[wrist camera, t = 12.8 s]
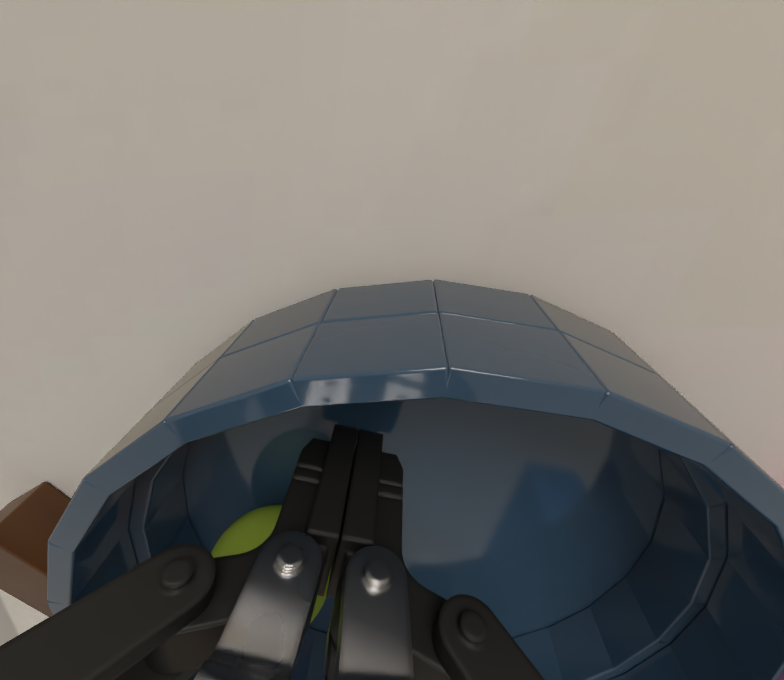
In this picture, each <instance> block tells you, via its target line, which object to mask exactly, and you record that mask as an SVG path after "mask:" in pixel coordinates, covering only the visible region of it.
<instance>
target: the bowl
mask: <svg viewBox="0 0 784 680" xmlns="http://www.w3.org/2000/svg"><path fill="white" fill-rule="evenodd" d="M335 424H336V425H341V426H346V427H351V428H355V429H358V433H357V438H358V434H359V431H360V429H361V430H366V431H370V432H375V433H380V434H383V444H382V452H385V453H390V454H395V455H397V457H398V459H399V461H400V463H401V466H402V468H403V499H402V501H403V514H402V555H403V560H404V563H405V565H406V567H407V569H408V571H409V573H410V574H411V575H412V577H413V578H414V579H415V580H416V581H417V582H418V583H420V584H421V585H422V586H424V587H425V588H427V589H429V590H430V591H432V592H434V593H436V594H437V595H439V596H441V597H443V598H445V599H446V600H448V599H449V598H450V597H452V596H454V595H458V594H466V595H470V596H473V597H475V598H477V599H479V600H481V601H482V602H483V603H485V604H486V605H487V606H488V607H489V608H490V609H491V611H492V612H493V613H494V614H495V616H496V617H497V618H498V620H499V621H500V622H501V623H502V625H503V626H504V627H505V629H506V630H507V631H508V633H509V634H510V635H511V636H512V638H513V639H514V640H515V642H516V643H517V644H518V646H519V647H520V648H521V649H522V651H523V652H524V653H525V655H526V656H527V657H528V659H529V660H530V661H531V662H532V664H533V665H534V666H535V668H536V669H537V670H538V672H539V673H540V674H541V675H542V677H543V678H544V679H545V680H784V489H783V488H782V487H781V486H780V485H779V484H778V483H777V482H776V481H775V480H774V479H772V478H771V477H770V476H769V475H768V474H767V473H766V472H765V471H764V470H763V469H762V468H760V467H759V466H758V465H757V464H756V463H755V462H754V461H753V460H752V459H751V458H750V457H748V456H747V455H746V454H745V453H744V452H743V451H742V450H741V449H740V448H739V447H738V446H737V445H735V444H734V443H733V442H732V441H731V440H730V439H729V438H728V437H727V436H726V435H725V434H723V433H722V432H721V431H720V430H719V429H718V428H717V427H716V426H715V425H714V424H713V423H712V422H710V421H709V420H708V419H707V418H706V417H705V416H704V415H703V414H702V413H701V412H700V411H698V410H697V409H696V408H695V407H694V406H693V405H692V404H691V403H690V402H689V401H688V400H686V399H685V398H684V397H683V396H682V395H681V394H680V393H679V392H678V391H677V390H676V389H675V388H673V387H672V386H671V385H670V384H669V383H668V382H667V381H666V380H665V379H664V378H662V377H661V376H660V375H659V374H658V373H657V372H656V371H655V370H654V369H653V368H651V367H650V366H649V365H648V364H647V363H646V362H645V361H644V360H643V359H642V358H640V357H639V356H638V355H637V354H636V353H635V352H634V351H633V350H632V349H631V348H629V347H628V346H627V345H626V344H625V343H624V342H623V341H622V340H621V339H619V338H618V337H617V336H616V335H615V334H614V333H612V332H611V331H610V330H608V329H605V328H603V327H601V326H599V325H596V324H594V323H592V322H590V321H588V320H585V319H583V318H581V317H579V316H577V315H574V314H572V313H570V312H568V311H566V310H563V309H561V308H559V307H557V306H555V305H552V304H550V303H548V302H546V301H543V300H541V299H539V298H537V297H535V296H532V295H530V296H529V295H528V294H524V293H517V292H511V291H505V290H498V289H492V288H486V287H479V286H473V285H467V284H460V283H454V282H448V281H441V280H434V281H432V280H424V281H414V282H403V283H393V284H382V285H372V286H361V287H351V288H340V289H338V290H337V289H334V290H331V291H329V292H326V293H323V294H320V295H318V296H315V297H312V298H310V299H307V300H304V301H302V302H299V303H296V304H294V305H291V306H288V307H286V308H283V309H280V310H277V311H275V312H272V313H269V314H267V315H264V316H261V317H259V318H256V319H255V320H252V321H251V322H250V323H248V324H247V325H246V326H244V327H243V328H242V329H240V330H239V331H238V332H237V333H235V334H234V335H233V336H231V337H230V338H229V339H227V340H226V341H225V342H223V343H222V344H221V345H220V346H218V347H217V348H216V349H214V350H213V351H212V352H210V353H209V354H208V355H206V356H205V357H204V358H202V359H201V360H200V361H199V362H197V363H196V364H195V365H194V366H193V367H192V368H191V369H190V370H189V371H188V372H187V373H186V374H185V375H184V376H183V377H182V378H181V379H180V380H179V381H178V382H177V383H176V384H175V385H174V386H173V387H172V388H171V389H170V390H169V391H168V392H167V393H166V394H165V395H164V397H163V398H162V399H161V400H160V401H159V402H158V403H157V404H156V405H155V406H154V407H153V408H152V409H151V410H150V411H149V412H148V413H147V414H146V415H145V416H144V417H143V418H142V419H141V420H140V421H139V422H138V423H137V424H136V425H135V426H134V427H133V428H132V429H131V430H130V431H129V432H128V433H127V434H126V435H125V436H124V437H123V438H122V439H121V440H120V441H119V442H118V443H117V444H116V445H115V446H114V447H113V448H112V449H111V450H110V451H109V452H108V453H107V454H106V455H105V457H104V458H103V459H102V460H101V461H100V462H99V463H98V464H97V465H96V466H95V467H94V468H93V469H92V470H91V471H90V472H89V473H88V474H87V475H86V476H85V477H84V478H83V479H82V481H81V483H80V485H79V486H78V488H77V490H76V492H75V493H74V495H73V497H72V499H71V500H70V502H69V504H68V506H67V507H66V509H65V511H64V513H63V514H62V516H61V518H60V520H59V521H58V523H57V525H56V527H55V528H54V530H53V532H52V533H51V535H50V537H49V539H48V543H47V603H48V605H49V607H50V610H51V612H52V614H53V615H54V614H56V613H57V612H59V611H61V610H63V609H64V608H66V607H68V606H69V605H71V604H73V603H74V602H76V601H78V600H80V599H81V598H83V597H85V596H86V595H88V594H90V593H91V592H93V591H95V590H97V589H98V588H100V587H102V586H103V585H105V584H107V583H108V582H110V581H112V580H114V579H115V578H117V577H119V576H120V575H122V574H124V573H125V572H127V571H129V570H130V569H132V568H134V567H136V566H137V565H139V564H141V563H142V562H144V561H146V560H147V559H149V558H151V557H153V556H154V555H156V554H158V553H159V552H161V551H163V550H165V549H167V548H169V547H172V546H175V545H179V544H186V543H189V544H197V545H200V546H202V547H204V548H206V549H207V550H208V551H209V552H210V553H211V552H212V550H213V548H214V546H215V544H216V543H217V541H218V539H219V538H220V537H221V535H222V534H223V533H224V532H225V530H226V529H227V528H228V527H229V526H230V525H231V524H232V523H234V522H235V521H236V520H237V519H238V518H240V517H241V516H243V515H244V514H246V513H248V512H250V511H252V510H254V509H257V508H260V507H264V506H268V505H283V502H284V499H285V496H286V494H287V491H288V488H289V485H290V482H291V479H292V477H293V474H294V471H295V468H296V466H297V462H298V459H299V456H300V454H301V451H302V449H303V448H304V447H305V446H306V445H307V444H308V443H309V442H310V441H311V440H312V439H313V438H316V439H321V440H326V441H331V437H332V433H333V429H334V426H335ZM357 438H356V442H357ZM355 446H356V444H355ZM334 600H335V598H331V597H326V599H325V601H324V604H323V606H322V607H321V609H320V611H319V613H318V614H317V615H316V617H315V618H314V620H313V621H312V622H311V623H310V625H309V627H308V629H307V631H306V633H305V635H304V638H303V642H302V645H301V649H300V652H299V656H298V660H297V663H296V667H295V670H294V674H293V677H292V680H323V672H324V662H325V652H326V642H327V634H328V629H329V626H330V623H331V618H332V612H333V606H334ZM198 671H199V670H198ZM198 671H197V672H196V673H195V674H194V675H192V676H191V677H190V678H189V679H188V680H194V678H195V676H196V675H197V673H198Z"/></svg>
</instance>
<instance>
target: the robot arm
mask: <svg viewBox="0 0 784 680" xmlns="http://www.w3.org/2000/svg"><path fill="white" fill-rule="evenodd" d="M357 433H358V429H355V428H351V427H346V426H341V425H336V424H335V426H334V429H333V433H332V437H331V441H326V440H321V439H316V438H313V439H312V440H311V441H310V442H309V443H308V444H307V445H306V446H305V447H304V448H303V449H302V451H301V454H300V456H299V459H298V462H297V466H296V468H295V471H294V474H293V477H292V479H291V482H290V485H289V488H288V491H287V494H286V496H285V499H284V502H283V505H282V508H281V511H280V514H279V516H278V519H277V522H276V525H275V527H274V530H273V531H272V533H271V535H270V536H269V537H268V538H267V539H266V540H265V541H264V542H263V543H262V544H261V545H259V546H258V547H256V548H254V549H252V550H250V551H248V552H245V553H241V554H236V555H229V556H222V557H215V558H213V556H212V554H211V553H210V552H209V551H208V550H207V549H206V548H204V547H202V546H200V545H197V544H189V543H186V544H179V545H175V546H172V547H169V548H167V549H165V550H163V551H161V552H159V553H158V554H156V555H154V556H153V557H151V558H149V559H147V560H146V561H144V562H142V563H141V564H139V565H137V566H136V567H134V568H132V569H130V570H129V571H127V572H125V573H124V574H122V575H120V576H119V577H117V578H115V579H114V580H112V581H110V582H108V583H107V584H105V585H103V586H102V587H100V588H98V589H97V590H95V591H93V592H91V593H90V594H88V595H86V596H85V597H83V598H81V599H80V600H78V601H76V602H74V603H73V604H71V605H69V606H68V607H66V608H64V609H63V610H61V611H59V612H57V613H56V614H54V615H52V616H51V617H49V618H47V619H46V620H44V621H42V622H41V623H39V624H37V625H35V626H34V627H32V628H30V629H29V630H27V631H25V632H24V633H22V634H20V635H18V636H17V637H15V638H13V639H12V640H10V641H8V642H7V643H5V644H3V645H1V646H0V680H188V679H189V678H190V677H191V676H192V675H194V674H195V673H196V672H197V671H198V670H199V671H198V673H197V675H196V676H195V678H194V680H292V677H293V674H294V670H295V667H296V663H297V660H298V656H299V652H300V649H301V645H302V642H303V638H304V635H305V633H306V631H307V629H308V627H309V625H310V622H311V618H312V614H313V610H314V606H315V602H316V598H317V595H318V596H324V592H325V588H326V585H327V581H328V577H329V573H330V569H331V573H330V578H329V583H328V589H327V594H326V597H331V598H335V600H334V606H333V612H332V618H331V623H330V626H329V629H328V634H327V642H326V652H325V662H324V672H323V680H545V679H544V678H543V677H542V675H541V674H540V673H539V672H538V670H537V669H536V668H535V666H534V665H533V664H532V662H531V661H530V660H529V659H528V657H527V656H526V655H525V653H524V652H523V651H522V649H521V648H520V647H519V646H518V644H517V643H516V642H515V640H514V639H513V638H512V636H511V635H510V634H509V633H508V631H507V630H506V629H505V627H504V626H503V625H502V623H501V622H500V621H499V620H498V618H497V617H496V616H495V614H494V613H493V612H492V611H491V609H490V608H489V607H488V606H487V605H486V604H485V603H483V602H482V601H481V600H479V599H477V598H475V597H473V596H470V595H466V594H458V595H454V596H452V597H450V598H449V599H448V600H446V599H445V598H443V597H441V596H439V595H437V594H436V593H434V592H432V591H430V590H429V589H427V588H425V587H424V586H422V585H421V584H420V583H418V582H417V581H416V580H415V579H414V578H413V577H412V575H411V574H410V573H409V571H408V569H407V567H406V565H405V563H404V560H403V555H402V514H403V501H402V499H403V468H402V466H401V463H400V461H399V459H398V457H397V455H395V454H390V453H385V452H382V444H383V434H380V433H375V432H370V431H366V430H361V429H360V431H359V434H358V438H357ZM356 438H357V442H356ZM355 444H356V446H355ZM331 566H332V567H331Z"/></svg>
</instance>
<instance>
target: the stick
mask: <svg viewBox="0 0 784 680" xmlns="http://www.w3.org/2000/svg"><path fill="white" fill-rule="evenodd" d="M70 500H71V499H69V498H68V497H66V496H65V495H64V494H62V493H61V492H59V491H58V490H57V489H55V488H54V487H53V486H51V485H50V484H48V483H47V482H43V483H42V484H40V485H38V486H37V487H35V488H33V489H32V490H30V491H28V492H27V493H25V494H23V495H22V496H20V497H18V498H16V499H15V500H13V501H11V502H10V503H9V504H8V505H6V506H5V507H4V508H3V509H2V510H1V511H0V589H2V590H3V591H5V592H7V593H9V594H10V595H12V596H14V597H15V598H17V599H19V600H21V601H22V602H24V603H26V604H28V605H29V606H31V607H33V608H35V609H36V610H38V611H40V612H42V613H43V614H45V615H47V616H48V617H51V616H52V615H53V614H52V612H51V610H50V607H49V605H48V603H47V543H48V539H49V537H50V535H51V533H52V532H53V530H54V528H55V527H56V525H57V523H58V521H59V520H60V518H61V516H62V514H63V513H64V511H65V509H66V507H67V506H68V504H69V502H70Z"/></svg>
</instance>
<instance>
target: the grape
mask: <svg viewBox="0 0 784 680" xmlns="http://www.w3.org/2000/svg"><path fill="white" fill-rule="evenodd" d="M281 508H282V505H268V506H264V507H260V508H257V509H254V510H252V511H250V512H248V513H246V514H244V515H243V516H241V517H240V518H238V519H237V520H236V521H235V522H234V523H232V524H231V525H230V526H229V527H228V528H227V529H226V530H225V532H224V533H223V534H222V535H221V537H220V538H219V539H218V541H217V543H216V544H215V546H214V548H213V550H212V552H211V554H212V556H213V558H215V557H222V556H229V555H236V554H241V553H245V552H248V551H250V550H252V549H254V548H256V547H258V546H259V545H261V544H262V543H263V542H264V541H265V540H266V539H267V538H268V537H269V536H270V535H271V533H272V531H273V530H274V527H275V525H276V522H277V519H278V516H279V514H280V511H281ZM331 567H332V566H331ZM330 573H331V569H330ZM330 573H329V577H328V581H327V585H326V588H325V592H324V596H318V595H317V598H316V602H315V606H314V610H313V614H312V618H311V622H312V621H313V620H314V618H315V617H316V615H317V614H318V613H319V611H320V609H321V607H322V606H323V604H324V601H325V599H326V594H327V589H328V583H329V578H330ZM311 622H310V623H311Z"/></svg>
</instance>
